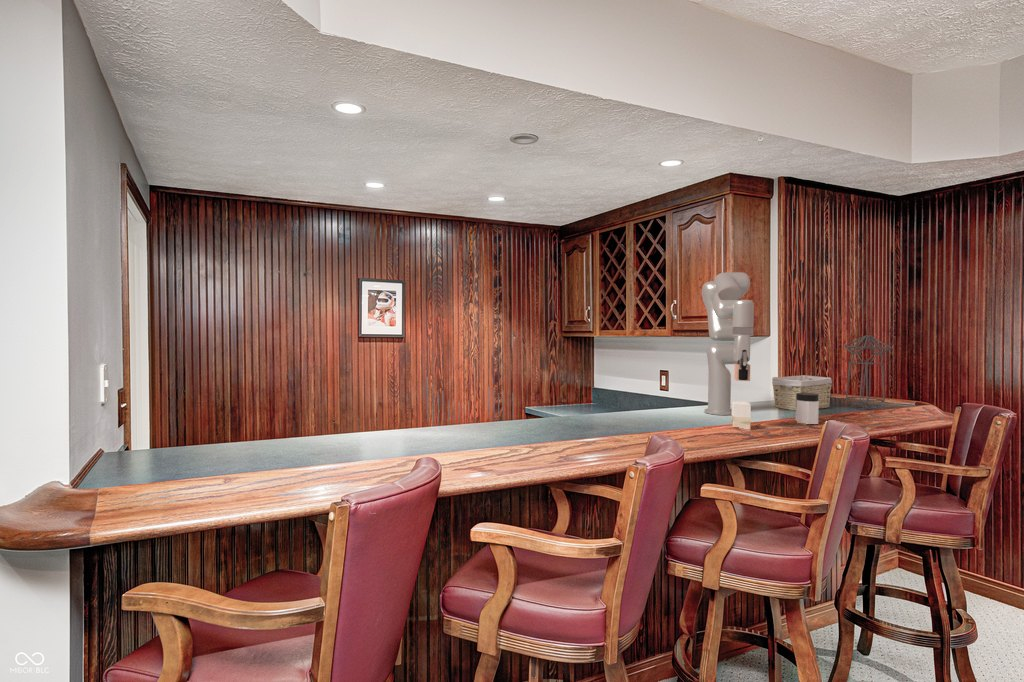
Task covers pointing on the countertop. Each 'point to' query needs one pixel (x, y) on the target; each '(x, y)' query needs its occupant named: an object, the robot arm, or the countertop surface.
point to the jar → (807, 408)
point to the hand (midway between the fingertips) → (741, 378)
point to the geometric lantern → (866, 368)
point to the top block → (736, 372)
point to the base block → (741, 422)
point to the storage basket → (800, 390)
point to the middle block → (741, 409)
